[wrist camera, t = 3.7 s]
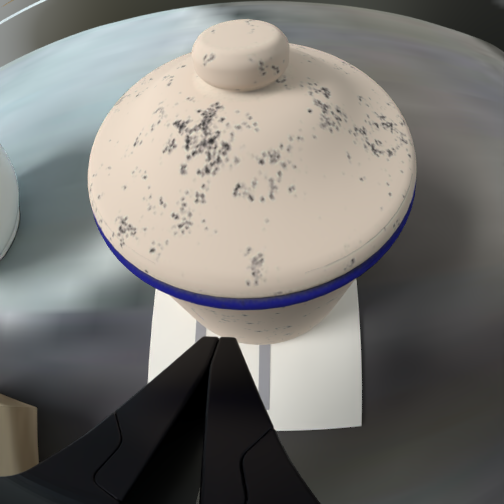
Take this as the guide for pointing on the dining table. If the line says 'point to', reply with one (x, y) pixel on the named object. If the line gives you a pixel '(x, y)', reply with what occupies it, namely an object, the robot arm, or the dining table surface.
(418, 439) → the dining table surface
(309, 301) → the teacup with lid
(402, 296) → the dining table surface
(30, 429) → the beech block
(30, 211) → the dining table surface
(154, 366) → the letter
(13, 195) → the lidded jar
